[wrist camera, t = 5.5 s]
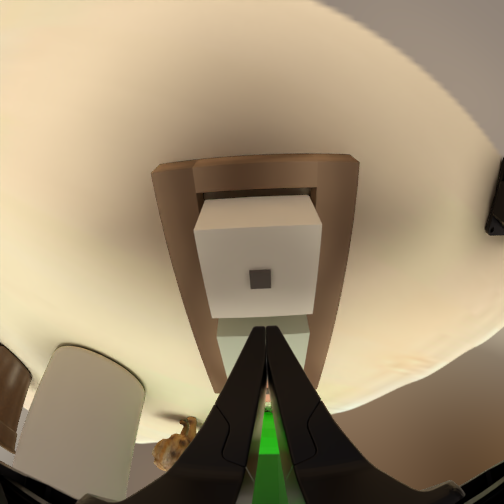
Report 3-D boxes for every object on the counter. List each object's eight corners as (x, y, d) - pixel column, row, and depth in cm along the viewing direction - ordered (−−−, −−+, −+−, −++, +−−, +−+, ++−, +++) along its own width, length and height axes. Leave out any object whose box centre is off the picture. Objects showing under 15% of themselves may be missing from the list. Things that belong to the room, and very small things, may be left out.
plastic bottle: (223, 400, 28) (216, 590, 7) (309, 405, 29) (322, 581, 8) (217, 425, 34) (210, 571, 13) (286, 429, 35) (292, 569, 14)
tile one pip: (308, 195, 13) (323, 226, 10) (304, 276, 16) (313, 316, 13) (205, 200, 13) (192, 233, 10) (217, 279, 16) (211, 321, 13)
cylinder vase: (148, 406, 31) (126, 562, 10) (70, 380, 29) (32, 522, 8) (143, 363, 24) (107, 585, 3) (43, 328, 22) (-20, 516, 2)
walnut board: (349, 154, 13) (359, 162, 12) (314, 376, 25) (316, 389, 24) (160, 164, 13) (150, 172, 12) (216, 380, 25) (214, 393, 24)
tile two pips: (302, 295, 16) (310, 335, 14) (297, 343, 19) (302, 380, 17) (221, 298, 17) (216, 339, 14) (230, 346, 19) (227, 383, 17)
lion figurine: (153, 413, 33) (143, 466, 25) (170, 407, 30) (161, 467, 23) (229, 439, 38) (228, 484, 31) (251, 433, 36) (251, 483, 29)
